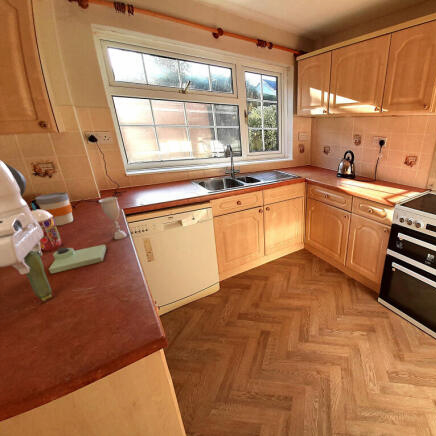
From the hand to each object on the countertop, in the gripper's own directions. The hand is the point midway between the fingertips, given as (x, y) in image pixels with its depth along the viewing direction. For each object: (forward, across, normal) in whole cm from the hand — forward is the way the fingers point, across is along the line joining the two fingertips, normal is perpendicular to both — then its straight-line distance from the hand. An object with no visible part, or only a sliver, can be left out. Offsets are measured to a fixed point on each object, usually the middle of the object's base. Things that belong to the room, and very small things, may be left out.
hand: (32, 264), depth 69 cm
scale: (+12, -23, +4) cm, 26 cm away
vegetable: (+12, 0, 0) cm, 12 cm away
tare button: (+9, -27, -1) cm, 28 cm away
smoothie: (+12, -43, -9) cm, 46 cm away
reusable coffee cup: (+12, -79, -13) cm, 81 cm away
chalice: (+12, -39, +16) cm, 44 cm away
